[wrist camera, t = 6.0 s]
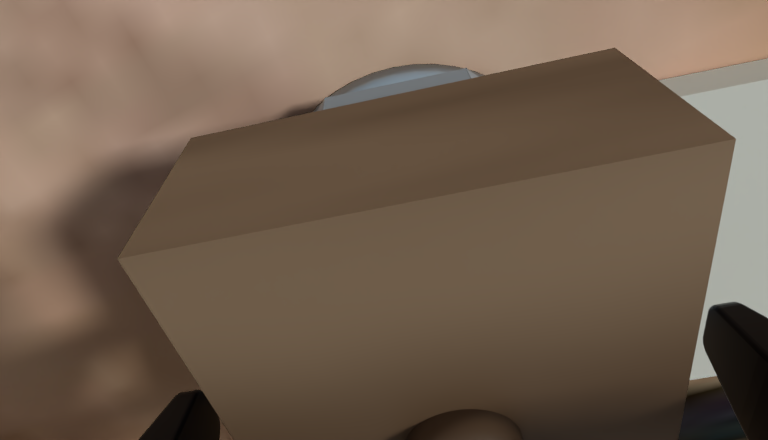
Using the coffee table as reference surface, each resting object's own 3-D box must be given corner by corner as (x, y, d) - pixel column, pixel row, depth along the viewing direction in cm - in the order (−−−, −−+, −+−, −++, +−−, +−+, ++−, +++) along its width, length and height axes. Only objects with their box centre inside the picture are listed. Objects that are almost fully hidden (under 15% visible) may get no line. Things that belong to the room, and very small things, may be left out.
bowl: (559, 278, 15) (613, 391, 12) (321, 319, 16) (311, 438, 13) (555, 32, 11) (633, 103, 8) (238, 99, 12) (191, 191, 9)
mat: (851, 327, 17) (876, 351, 16) (543, 376, 18) (552, 401, 17) (988, 13, 11) (1037, 25, 11) (530, 106, 12) (542, 124, 12)
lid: (598, 415, 13) (671, 585, 10) (337, 455, 13) (330, 627, 10) (615, 48, 8) (776, 169, 5) (190, 137, 8) (94, 296, 5)
